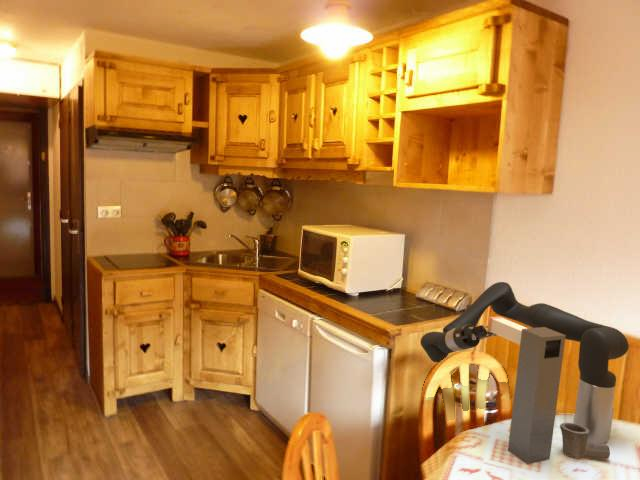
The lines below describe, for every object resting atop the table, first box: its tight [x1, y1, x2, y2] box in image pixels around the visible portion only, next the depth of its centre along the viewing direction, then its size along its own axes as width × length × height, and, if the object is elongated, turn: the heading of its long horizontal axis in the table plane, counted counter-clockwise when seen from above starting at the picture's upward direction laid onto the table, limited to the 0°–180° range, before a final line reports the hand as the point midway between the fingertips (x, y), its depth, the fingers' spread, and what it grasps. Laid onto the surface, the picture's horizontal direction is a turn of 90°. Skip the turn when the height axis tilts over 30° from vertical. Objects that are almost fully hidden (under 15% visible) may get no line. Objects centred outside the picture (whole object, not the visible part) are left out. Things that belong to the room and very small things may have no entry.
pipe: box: [559, 422, 611, 460], centre depth 136 cm, size 6×13×8 cm, turn 78°
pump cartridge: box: [487, 315, 528, 346], centre depth 141 cm, size 4×15×4 cm, turn 22°
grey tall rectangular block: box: [507, 327, 566, 465], centre depth 133 cm, size 8×7×35 cm
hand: (494, 327), depth 148 cm, fingers open, 8 cm apart
